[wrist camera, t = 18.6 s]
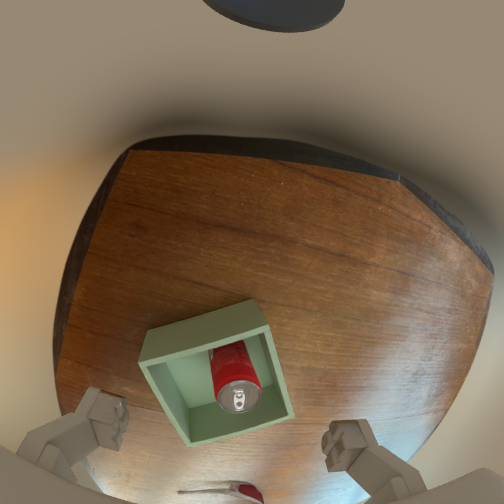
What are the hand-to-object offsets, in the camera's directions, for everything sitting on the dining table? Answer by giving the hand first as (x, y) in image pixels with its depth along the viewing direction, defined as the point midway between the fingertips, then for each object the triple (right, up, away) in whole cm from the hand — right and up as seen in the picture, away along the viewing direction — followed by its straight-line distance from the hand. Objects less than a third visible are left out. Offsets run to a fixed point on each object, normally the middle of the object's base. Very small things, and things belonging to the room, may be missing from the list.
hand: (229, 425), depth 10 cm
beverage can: (-3, -7, +30) cm, 31 cm away
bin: (-4, -9, +31) cm, 33 cm away
